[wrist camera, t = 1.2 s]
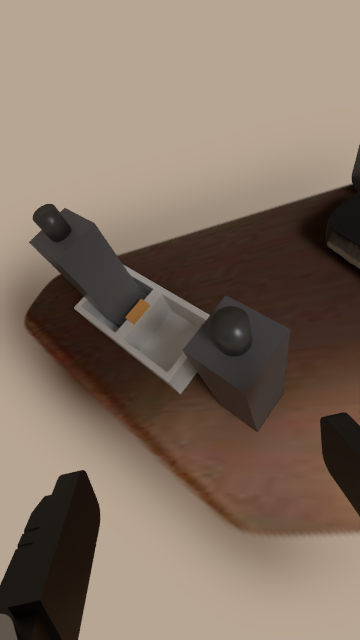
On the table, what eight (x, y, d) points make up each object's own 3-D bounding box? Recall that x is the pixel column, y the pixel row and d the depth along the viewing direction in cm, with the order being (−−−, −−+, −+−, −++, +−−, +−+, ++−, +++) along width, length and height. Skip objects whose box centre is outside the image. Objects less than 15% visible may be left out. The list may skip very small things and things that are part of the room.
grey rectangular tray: (92, 324, 35) (70, 305, 31) (131, 281, 37) (114, 257, 33) (180, 394, 28) (165, 380, 25) (223, 337, 30) (216, 316, 26)
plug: (219, 403, 27) (171, 334, 14) (244, 368, 28) (220, 274, 15) (257, 432, 25) (241, 381, 12) (283, 393, 26) (292, 310, 13)
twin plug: (107, 319, 34) (9, 223, 22) (129, 293, 35) (49, 187, 23) (129, 336, 32) (37, 242, 20) (153, 308, 33) (79, 202, 21)
